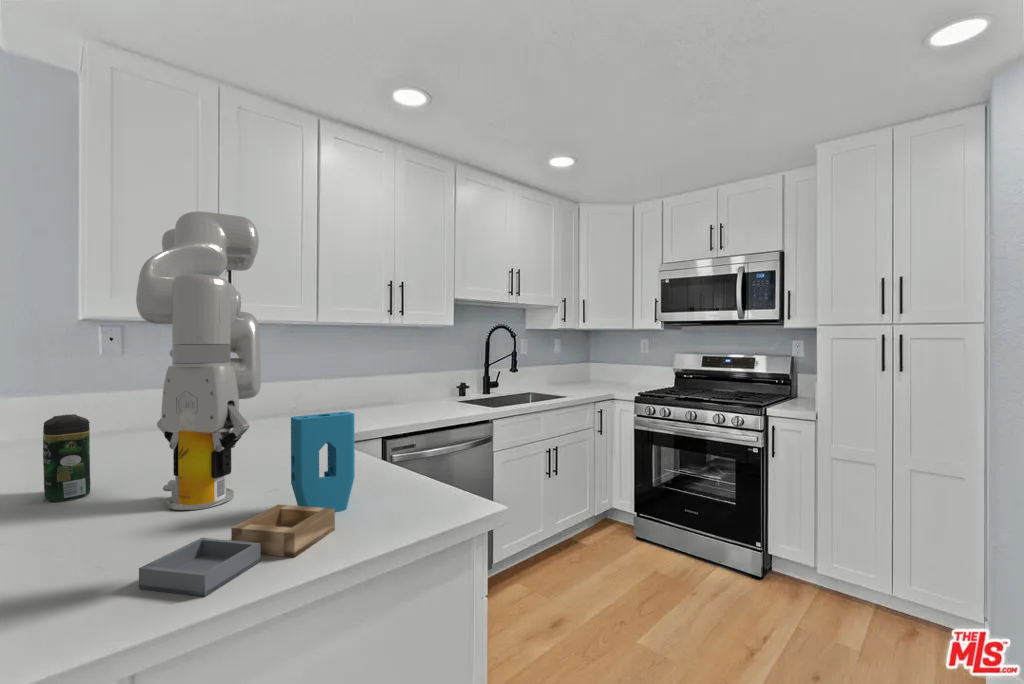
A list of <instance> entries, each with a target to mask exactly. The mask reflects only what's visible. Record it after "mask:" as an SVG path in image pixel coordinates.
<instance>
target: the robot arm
mask: <svg viewBox="0 0 1024 684" xmlns="http://www.w3.org/2000/svg"><path fill="white" fill-rule="evenodd" d="M259 238H260V237H259V233H258V230H257V227H256V226H255V223H253V221H252V220H251V219H249V218H247V217H245V216H240V215H233V214H223V213H216V212H209V211H190V212H186V213H184V214H182V215H181V216H180V217H179V218H178V219H177V221H176V223H175V227H174V228H171V229H169V230H167V231H165V232H164V233H163V235H162V239H161V249H162V250H161V251H160V252H158V253H156V254H154V255H152V256H150V258H148V259H147V260H146V261H145V262H144V263H143V264H142V267H141V269H140V272H139V276H138V282H137V286H136V295H135V297H136V298H135V300H136V301H135V302H136V308H137V311H138V314H139V315H140V317H141V318H142V319H143V320H144V321H145V322H148V323H150V324H154V325H171V329H172V330H171V332H172V333H171V334H172V338H171V339H172V340H171V341H172V347H171V350H170V351H169V356H170V357H171V360H172V361H171V362H172V364H171V365H169V366H168V367H167V370H166V374H165V377H164V378H165V379H164V384H163V388H162V389H163V390H162V399H161V400H162V401H161V415H160V416H161V417H160V419H159V420H158V421H157V422H156V426H157V428H158V429H159V430H160V431H161V432H162V434H163V436H164V438H165V439H166V440H167V441H168V445H169V448H170V450H173V453H172V454H173V476H174V477H175V478H174V479H171V480H169V481H168V482H167V484H164V486H163V487H162V490H163V491H164V492H171V497H169V498H168V499H167V500H166V507H167V508H168V509H170V510H175V511H189V510H188V509H184V508H183V506H182V505H181V504H179V481H178V432H179V416H180V414H182V412H183V411H184V410H186V408H189V410H191V411H192V412H193V413H192V414H195V430H196V432H198V433H201V434H210V433H212V434H211V435H212V441H213V444H214V447H215V450H216V451H213V452H212V454H211V465H212V478H219V477H222V476H225V475H226V476H228V475H230V474H231V473H232V449H233V448H235V447H236V444H237V443H238V441H240V439H241V438H242V436H243V435H244V434H245V433H246V432H248V430H249V428H250V424H249V422H248V421H247V420H246V419H245V418H244V417H243V415H242V414H241V413H240V403H239V402H240V401H239V400H247V399H252V398H254V397H256V396H257V395H259V392H260V391H261V384H262V372H261V370H262V369H261V339H260V335H261V334H260V328H259V324H258V323H259V322H258V320H257V318H256V317H255V316H254V314H252V313H250V312H246V311H242V299H241V298H242V297H241V293H240V292H239V290H237V289H236V287H235V286H234V285H233V284H232V283H230V282H229V281H228V280H227V279H225V278H224V277H222V276H221V275H222V274H223V273H224V272H225V271H226V270H227V271H236V272H237V271H248V270H249V269H251V267H252V266H253V265H254V262H255V258H256V257H257V254H258V252H259V251H258V250H259V243H260V241H259V240H260V239H259ZM232 353H233V354H235V355H237V356H238V357H231V354H232ZM223 426H224V428H223ZM221 433H224V439H223V440H222V437H221ZM234 496H235V492H234V490H233V488H232V489H231V488H227V487H226V496H225V497H224V499H223V500H222V502H221V503H220V504H218V505H221V504H224V503H227V502H229V501H230V500H232V499H233V498H234ZM218 505H217V506H218Z"/></svg>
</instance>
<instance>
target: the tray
mask: <svg viewBox="0 0 1024 684" xmlns="http://www.w3.org/2000/svg"><path fill="white" fill-rule="evenodd" d="M261 555H262V554H260V543H253V542H242V541H232V540H230V539H229V540H228V539H222V538H221V539H220V538H210V537H209V538H207V537H200V538H198V539H196V540H194V541H192V542H190V543H188V544H186V545H183V546H182V547H180V548H177V549H176V550H173V551H171V552H169V553H167V554H165V555H163V556H161V557H159V558H157V559H155V560H153V561H150V562H149V563H146V564H145V565H143V566H141V567H139V568H138V589H139V590H143V591H144V590H145V591H153V592H160V593H167V594H168V593H169V594H178V595H184V596H185V595H186V596H193V597H194V596H195V597H201V598H202V597H203V598H205V597H207V596H209V595H210V594H212V593H214V592H215V591H217V590H218V589H221V587H223V586H224V585H227V583H230V582H231V581H232V580H234V579H236V578H237V577H239V576H240V575H242V574H243V573H245V572H247V571H248V570H250V569H251V568H254V566H256V565H257V564H259V563H261V562H262V561H261V559H262V558H261Z"/></svg>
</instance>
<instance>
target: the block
mask: <svg viewBox="0 0 1024 684" xmlns="http://www.w3.org/2000/svg"><path fill="white" fill-rule="evenodd" d="M325 445H327V470H326V471H325V470H324V472H323V476H320V451H321V449H322V448H323V447H325ZM355 455H356V454H355V413H354V412H350V411H336V412H327V413H326V412H325V413H317V414H316V413H315V414H305V415H294V416H291V417H290V485H291V487H292V490H293V494H294V497H295V500H296V504H297V505H296V506H306V507H319V508H332V509H335V513H339V512H342V511H343V512H344V511H346V510H347V509H348V505H349V500H350V497H351V494H352V488H353V484H354V481H355V469H356V468H355V465H356V464H355V462H356V461H355V457H356V456H355Z"/></svg>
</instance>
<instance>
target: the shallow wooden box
mask: <svg viewBox="0 0 1024 684" xmlns="http://www.w3.org/2000/svg"><path fill="white" fill-rule="evenodd" d="M335 517H336V512H335V509H332V508H319V507H306V506H298V505H289V504H276V505H274V506H272V507H271V508H269V509H267V510H264V511H262V512H260V513H258V514H256V515H254V516H252V517H250V518H248V519H246V520H245V521H244V520H243V521H242V522H240V523H237V524H236V525H234V526H232V527H231V529H230V530H231V531H230V532H231V533H230V534H231V536H230V537H231V540H232V541H242V542H253V543H260V554H261V555H265V556H266V555H267V556H275V557H285V558H286V557H287V558H296V557H298V556H300V555H301V554H302V553H304V552H305V551H306V550H308V549H309V548H311V547H312V546H313V545H315V544H317V543H318V542H319V541H321V540H322V539H324V538H325V537H327V536H328V535H329V534H331V533H333V532H334V531H335V529H336V526H335V525H336V524H335V523H336V520H335V519H336V518H335Z"/></svg>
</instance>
